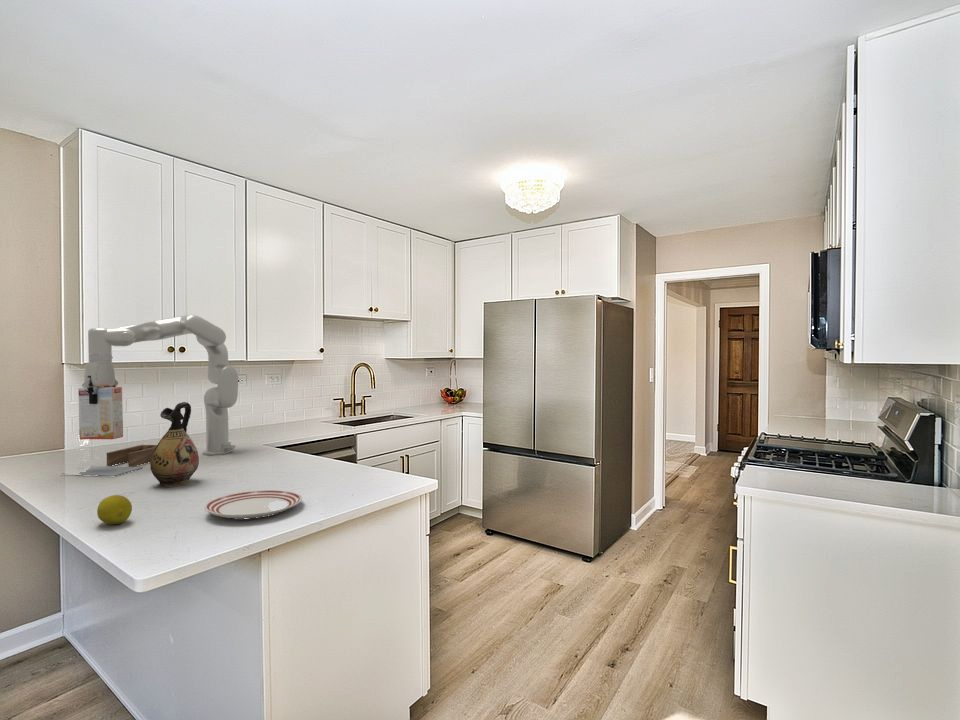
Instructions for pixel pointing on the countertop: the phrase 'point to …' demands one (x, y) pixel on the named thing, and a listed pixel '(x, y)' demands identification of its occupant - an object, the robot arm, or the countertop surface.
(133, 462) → the holder
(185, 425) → the ceramic jug
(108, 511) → the lemon
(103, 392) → the cracker box
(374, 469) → the countertop surface
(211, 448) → the robot arm
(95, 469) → the mat
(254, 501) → the dinner plate
